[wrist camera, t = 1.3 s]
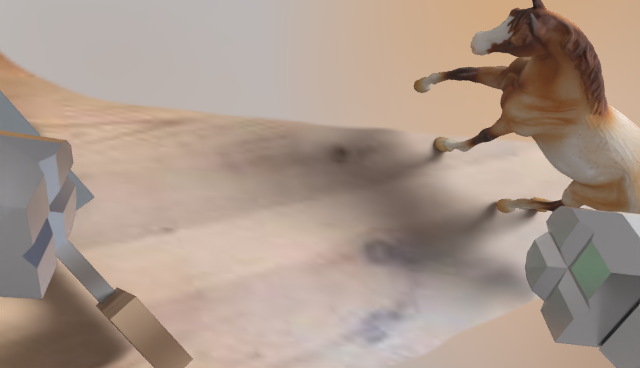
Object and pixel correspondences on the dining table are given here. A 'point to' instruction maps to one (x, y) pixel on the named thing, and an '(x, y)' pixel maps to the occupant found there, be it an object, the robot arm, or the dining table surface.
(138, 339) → the lever with brown handle
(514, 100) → the horse figurine
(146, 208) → the dining table surface
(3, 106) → the white-striped grey panel
